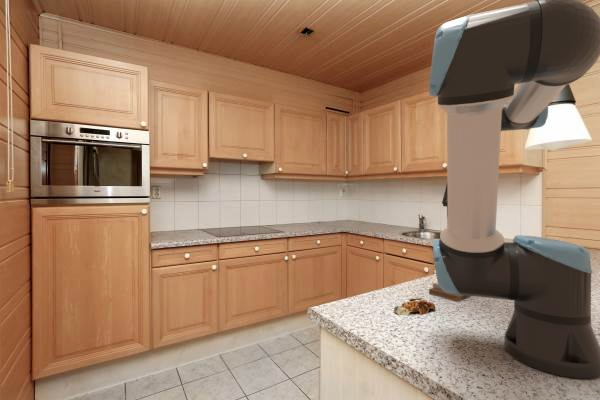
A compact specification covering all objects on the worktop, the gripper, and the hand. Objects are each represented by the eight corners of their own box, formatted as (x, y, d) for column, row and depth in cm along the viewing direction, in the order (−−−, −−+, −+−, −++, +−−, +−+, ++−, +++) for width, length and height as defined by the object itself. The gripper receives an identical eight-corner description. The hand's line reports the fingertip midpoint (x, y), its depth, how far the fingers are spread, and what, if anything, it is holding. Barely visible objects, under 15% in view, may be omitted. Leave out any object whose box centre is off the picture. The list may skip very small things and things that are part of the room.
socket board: (456, 301, 91) (456, 291, 91) (429, 293, 98) (429, 284, 98) (476, 293, 98) (476, 283, 98) (449, 286, 105) (449, 277, 105)
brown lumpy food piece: (389, 311, 85) (388, 299, 85) (418, 304, 91) (418, 292, 91) (408, 320, 79) (408, 307, 79) (438, 311, 85) (438, 299, 85)
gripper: (454, 154, 85) (455, 230, 85) (493, 160, 100) (493, 225, 100) (429, 157, 91) (430, 228, 91) (469, 162, 106) (470, 223, 106)
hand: (463, 226), depth 96 cm, fingers open, 13 cm apart
